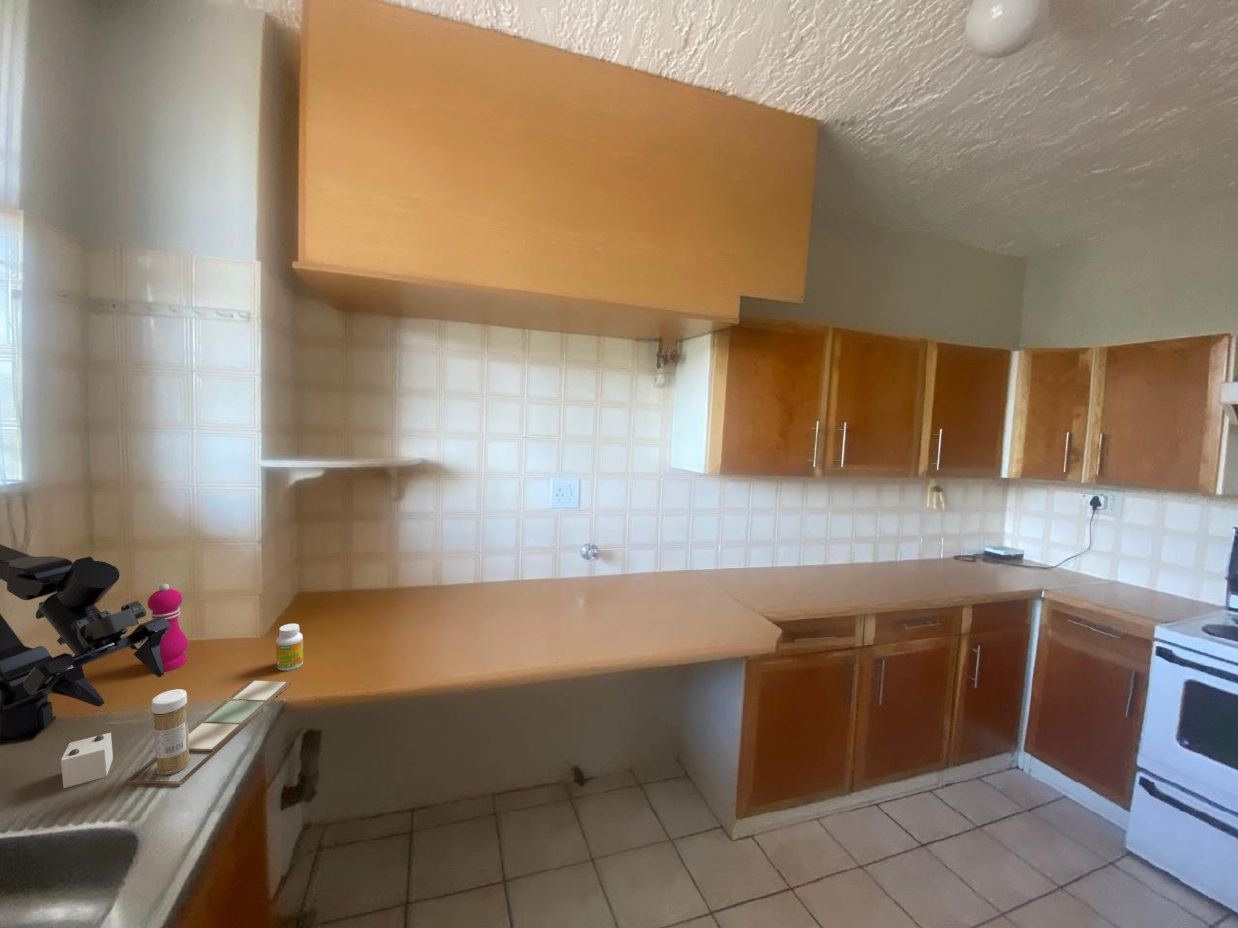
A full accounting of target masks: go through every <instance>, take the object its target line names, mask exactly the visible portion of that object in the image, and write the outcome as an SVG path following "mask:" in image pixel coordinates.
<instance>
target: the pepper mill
mask: <svg viewBox="0 0 1238 928" xmlns="http://www.w3.org/2000/svg"><path fill="white" fill-rule="evenodd" d="M158 589H159V590H157V591H155V592H153V593H152V594H150V596H149V598H148V600H147V608H148V609H149V610H150V611H151V613H150V615H151V617H150V618H151V620H153V619H156V618H158V617H160V618H165V619H166V620H167V621H168V622H169V623H170V624H171V627H170V628H169V629H168V631H167V632H166V634H165V636H164V637H163V638H162V639H161V641H160V654H161V659H162V665H163V670H164V672H169V671H173V670H175V669H178V668H180V667H182V666H184V665H185V664H186V663H187V653H185V652H186V650H187V649H188V647H189V642H188V638H187V636H186V635H185V633H184V632H183V631H182V629H181V627H180V625H179V616H180V614H181V608H180V607H179V606H181V604H182V603H183V595H182V593H181V592H180V591H179V590H177V589H174V588H170V585H169V584H168V583H162V584H160V585H159V588H158Z"/></svg>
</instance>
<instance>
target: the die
mask: <svg viewBox="0 0 1238 928" xmlns="http://www.w3.org/2000/svg"><path fill="white" fill-rule="evenodd" d="M112 743H113V740H112V732H108V733H103V734H100V735H96V736H91V737H87V738H84V739H79V740H76V741H75V740H74V741H72V742H69V744H68V745H67V747H66V749H65V751H64V753H63V755H62V758H61V759H60V764H61V766H60V767H61V773H62V774H61V775H62V786H63V789H66V788H67V789H68V788H71V787H75V786H78V785H81V784H86V783H88V782H91V781H95V780H99V779H103V778H107V776H108V773H109V770H110V769H111V765H112V762H113V759H114V755H113V754H114V753H113V744H112Z"/></svg>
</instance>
